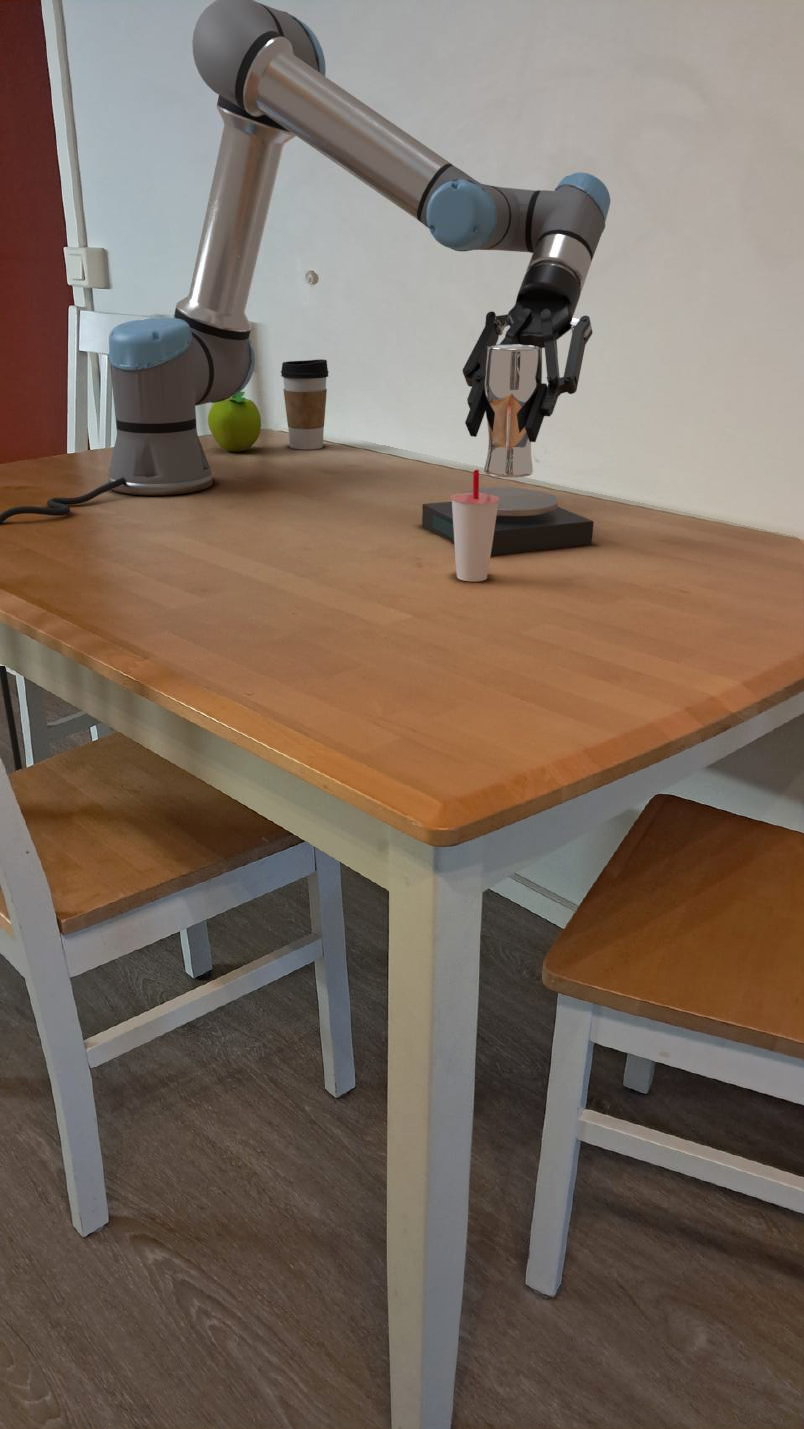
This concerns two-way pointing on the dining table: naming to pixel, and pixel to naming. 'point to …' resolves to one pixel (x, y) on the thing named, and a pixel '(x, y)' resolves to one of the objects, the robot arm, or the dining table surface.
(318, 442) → the coffee cup
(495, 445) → the beer glass
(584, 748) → the dining table surface
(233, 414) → the fruit
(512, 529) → the scale
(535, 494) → the scale pan
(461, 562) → the cup
